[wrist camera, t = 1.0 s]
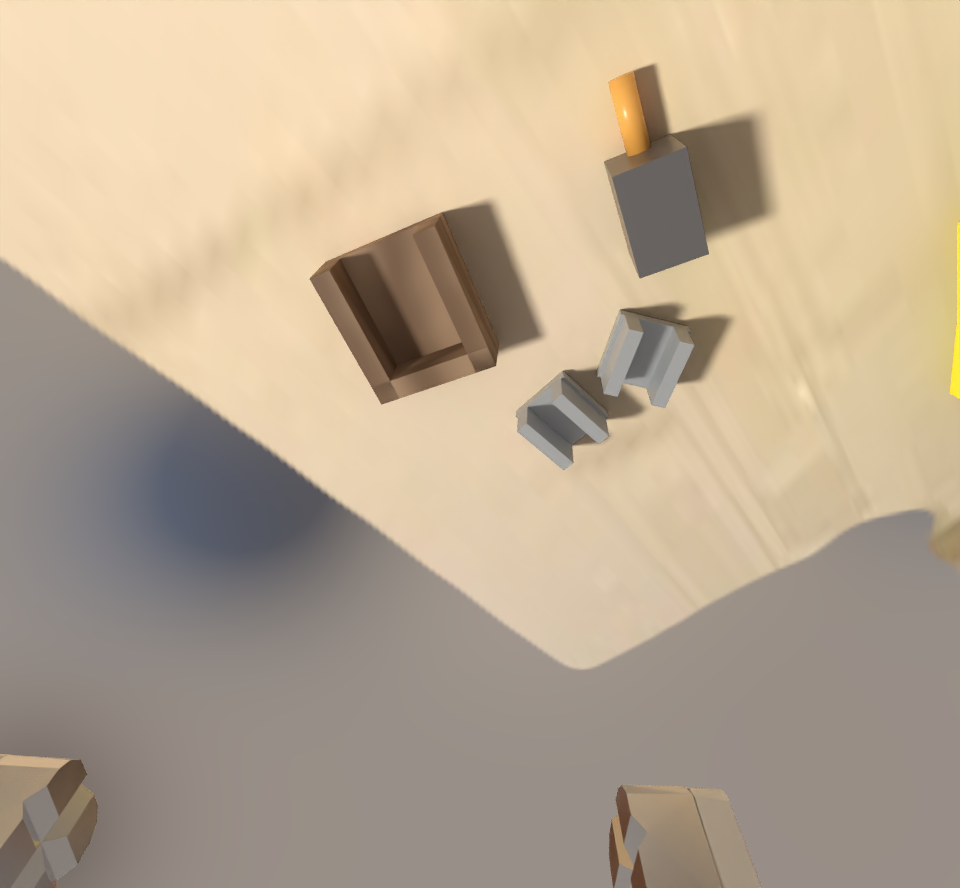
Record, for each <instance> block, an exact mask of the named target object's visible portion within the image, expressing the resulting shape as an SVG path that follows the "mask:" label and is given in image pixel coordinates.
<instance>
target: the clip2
mask: <svg viewBox="0 0 960 888" xmlns="http://www.w3.org/2000/svg"><path fill="white" fill-rule="evenodd" d="M516 417H517V418H518V426H517V432H518V433H520V434H521V435H522V436H523V437H524V438H526V439H527V440H528V441H529V442H530V443H532V444H533V445H534V446H535V447H536V448H538V449H539V450H540V451H541V452H542V453H544V454H545V455H546V456H547V457H548V458H550V459H551V460H552V461H553V462H554V463H556V464H557V465H558V466H559V467H560V468H562V469H563V470H565V469H566V468H568V467H569V466H570V465H572V464H573V450H572V445H573V444H574V443H576V442H577V441H578V440H579V439H581V438H582V437H583V436H585V435H586V434H588V435H589V436H590V437H591V438H592V439H593V440H595V441H596V442H597V443H598V444H599V443H601V442H602V441H603V440H604V439H606V438H607V437H608V436H609V434H608V428H607V422H606V418H608V411H606V410H605V409H604V408H603V407H602V406H601V405H600V404H599V403H598V402H597V401H595V400H594V399H593V398H592V397H591V396H590V395H589V394H588V393H587V392H586V391H585V390H583V389H582V388H581V387H580V386H579V385H578V384H577V383H576V382H575V381H574V380H572V379H571V378H570V377H569V376H568V375H567V374H566V373H565V372H564V371H562V372H561V373H560V374H559V375H558V376H556V377H555V378H554V379H553V380H552V381H551V382H550V383H548V384H547V385H546V386H545V387H544V388H543V389H541V390H540V391H539V392H538V393H537V394H536V395H534V396H533V397H532V398H531V399H530V400H529V401H528V402H526V403H525V404H524V405H523V406H522V407H521V408H519V409H518V410H517V411H516Z"/></svg>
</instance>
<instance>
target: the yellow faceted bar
mask: <svg viewBox="0 0 960 888" xmlns="http://www.w3.org/2000/svg"><path fill="white" fill-rule="evenodd" d="M950 394H952V395H954V396H956V397H957V398H959V399H960V221H959V223H958V225H957V327H956V337H955V347H954V357H953V367H952V376H951V386H950Z"/></svg>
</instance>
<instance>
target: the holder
mask: <svg viewBox="0 0 960 888" xmlns="http://www.w3.org/2000/svg"><path fill="white" fill-rule="evenodd" d="M310 280H311V282H312V284H313V286H314V287H315V289H316V291H317V293H318V294H319V296H320V298H321V300H322V301H323V303H324V305H325V307H326V308H327V310H328V312H329V314H330V315H331V317H332V319H333V321H334V322H335V324H336V326H337V328H338V329H339V331H340V333H341V335H342V336H343V338H344V340H345V341H346V343H347V345H348V347H349V348H350V350H351V352H352V354H353V355H354V357H355V359H356V361H357V362H358V364H359V366H360V368H361V369H362V371H363V373H364V375H365V376H366V378H367V380H368V382H369V383H370V385H371V387H372V389H373V390H374V392H375V394H376V396H377V397H378V399H379V401H380V403H381V404H384V403H387V402H390V401H393V400H396V399H399V398H402V397H405V396H408V395H411V394H414V393H417V392H420V391H423V390H426V389H429V388H432V387H435V386H438V385H441V384H444V383H447V382H450V381H453V380H456V379H459V378H462V377H465V376H468V375H471V374H474V373H477V372H480V371H482V370H485V369H488V368H491V367H494V366H496V362H497V354H498V347H499V344H498V341H497V339H496V337H495V334H494V332H493V330H492V327H491V325H490V322H489V320H488V318H487V315H486V313H485V311H484V308H483V306H482V304H481V301H480V299H479V297H478V294H477V292H476V290H475V287H474V285H473V283H472V280H471V278H470V276H469V273H468V271H467V269H466V266H465V264H464V262H463V259H462V257H461V255H460V252H459V250H458V248H457V245H456V243H455V241H454V238H453V236H452V234H451V231H450V229H449V227H448V224H447V222H446V220H445V217H444V215H443V213H439V214H437V215H434V216H432V217H430V218H427V219H425V220H423V221H420V222H418V223H416V224H413V225H411V226H409V227H406V228H404V229H402V230H399V231H397V232H395V233H392V234H390V235H388V236H385V237H383V238H381V239H378V240H376V241H374V242H371V243H369V244H367V245H364V246H362V247H360V248H357V249H355V250H353V251H350V252H348V253H346V254H343V255H341V256H338V257H336V258H334V259H331V260H329V261H327V262H325V263H324V264H323V265H322V266H321V267H320V268H319V269H318V270H317V271H316V273H315V274H314V275H313V276H312V277H311V278H310Z"/></svg>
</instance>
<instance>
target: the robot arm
mask: <svg viewBox="0 0 960 888" xmlns="http://www.w3.org/2000/svg"><path fill="white" fill-rule="evenodd" d="M86 776H87V773H86V770H85V768H84V765H83V763H82V761H81V760H79V759H78V760H77V759H63V758H47V757H31V756H15V755H5V754H0V888H57V880H58V879H60V878H61V877H62V876H63V875H65V874H66V873H67V872H68V871H70V870H71V869H72V868H74V867H75V866H76V865H77V864H78V863H79V861H80V859H81V858H82V855H83V854H84V852H85V851H86V849H87V847H88V845H89V844H90V841H91V838H92V835H93V832H94V829H95V826H96V823H97V814H98V805H97V801H96V799H95V795H94V794H93V793H92V792H91V791H89V790H88V789H87V788H86V787H84V786H83V785H82V784H81V783H82V782H83V780H84V779H85V777H86ZM616 804H617V810H618V815H617V816H616V817H614V818H613V819H612V820H611V827H610V833H609V859H610V868H611V869H610V870H611V876H612V883H613V888H762V886H761V883H760V880H759V878H758V875H757V872H756V870H755V867H754V864H753V862H752V859H751V857H750V854H749V851H748V849H747V846H746V843H745V841H744V838H743V836H742V833H741V830H740V828H739V825H738V822H737V820H736V817H735V815H734V812H733V809H732V807H731V804H730V801H729V799H728V797H727V796H726V794H725V793H724V792H723V791H722V790H720V789H706V788H686V787H681V786H648V785H621V786H620V787H619V788H618V792H617V796H616Z"/></svg>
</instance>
